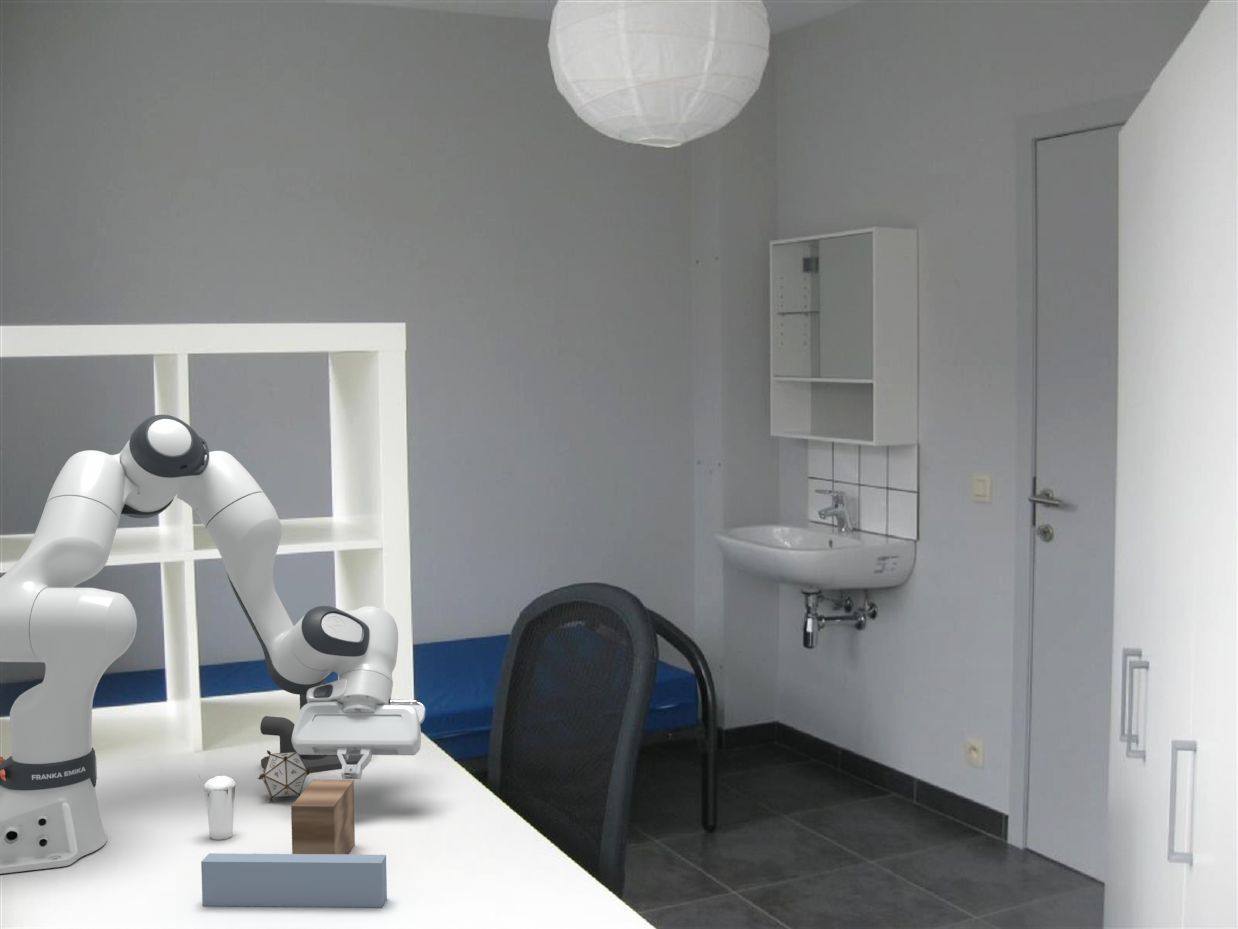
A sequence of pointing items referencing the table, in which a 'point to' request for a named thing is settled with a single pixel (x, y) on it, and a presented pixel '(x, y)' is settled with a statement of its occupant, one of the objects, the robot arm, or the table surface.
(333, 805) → the walnut block
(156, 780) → the table surface
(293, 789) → the game die
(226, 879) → the slate board
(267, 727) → the faucet
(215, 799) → the milkshake
